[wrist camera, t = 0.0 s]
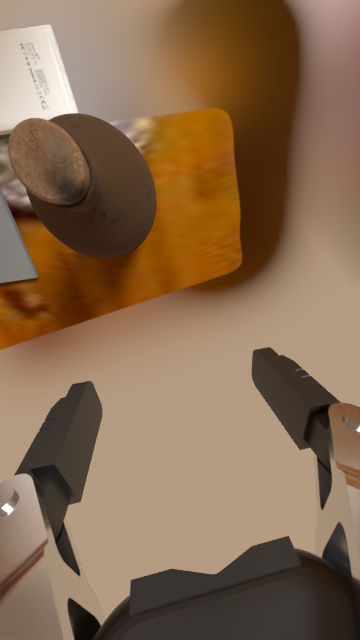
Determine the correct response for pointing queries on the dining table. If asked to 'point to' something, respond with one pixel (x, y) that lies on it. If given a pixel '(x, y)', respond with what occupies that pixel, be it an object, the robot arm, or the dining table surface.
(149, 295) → the dining table surface
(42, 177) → the olive oil
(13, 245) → the mat
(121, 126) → the dining table surface
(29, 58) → the external hard drive
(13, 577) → the robot arm
